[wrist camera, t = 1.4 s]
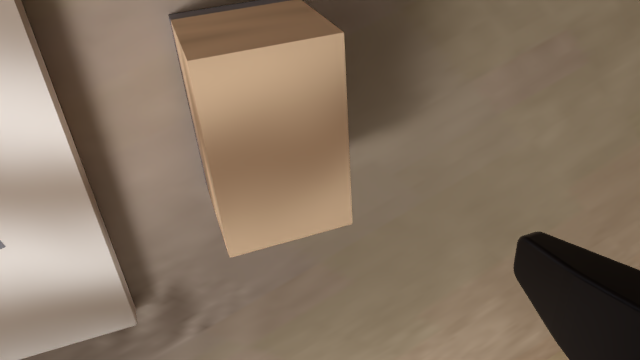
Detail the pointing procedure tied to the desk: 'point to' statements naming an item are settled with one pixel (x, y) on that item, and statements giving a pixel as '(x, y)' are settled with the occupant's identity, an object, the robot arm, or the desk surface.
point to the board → (47, 215)
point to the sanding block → (268, 118)
